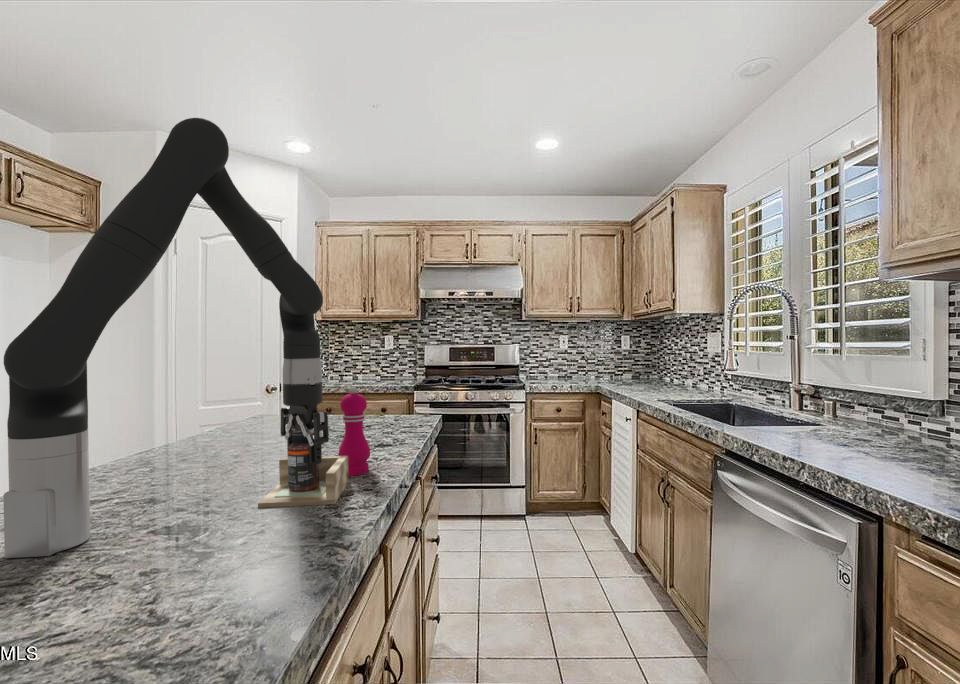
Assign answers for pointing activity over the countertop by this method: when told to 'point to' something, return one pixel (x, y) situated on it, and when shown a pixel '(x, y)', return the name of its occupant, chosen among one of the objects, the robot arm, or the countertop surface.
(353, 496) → the countertop surface
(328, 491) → the tray
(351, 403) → the pepper mill
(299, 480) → the supplement bottle
